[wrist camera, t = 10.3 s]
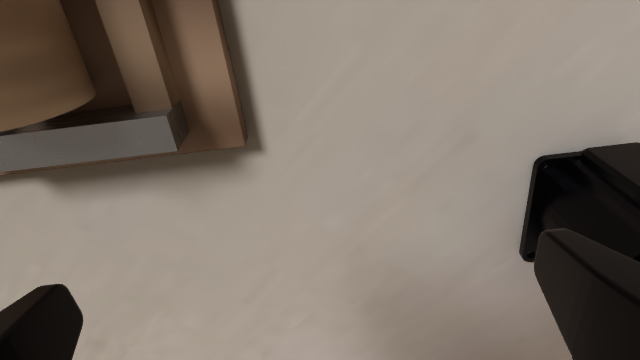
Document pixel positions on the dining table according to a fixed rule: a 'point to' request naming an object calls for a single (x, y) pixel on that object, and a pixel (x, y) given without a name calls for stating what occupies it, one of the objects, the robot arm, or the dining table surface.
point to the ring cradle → (139, 88)
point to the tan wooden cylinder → (39, 64)
